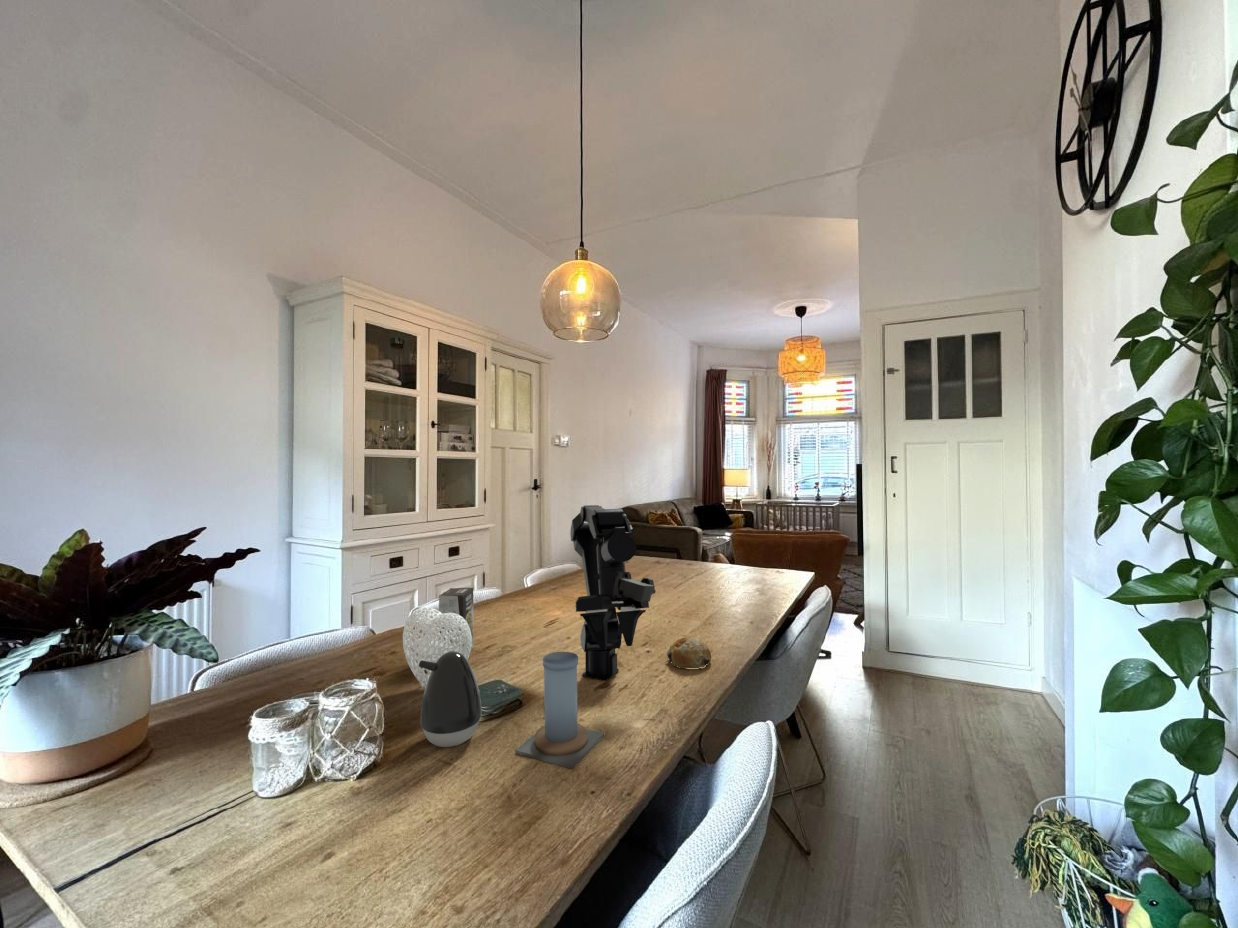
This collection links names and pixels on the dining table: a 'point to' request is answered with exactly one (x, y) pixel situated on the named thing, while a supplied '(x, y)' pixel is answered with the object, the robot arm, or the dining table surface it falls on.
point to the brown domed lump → (689, 653)
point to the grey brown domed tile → (560, 747)
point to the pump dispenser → (450, 701)
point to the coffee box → (458, 607)
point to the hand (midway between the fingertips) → (617, 648)
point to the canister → (560, 696)
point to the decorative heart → (433, 638)
